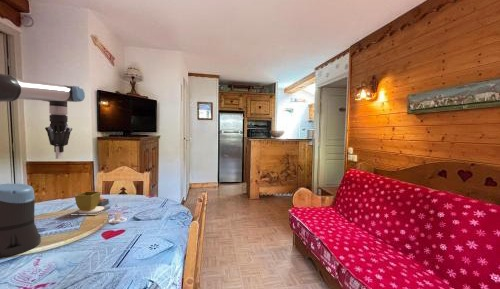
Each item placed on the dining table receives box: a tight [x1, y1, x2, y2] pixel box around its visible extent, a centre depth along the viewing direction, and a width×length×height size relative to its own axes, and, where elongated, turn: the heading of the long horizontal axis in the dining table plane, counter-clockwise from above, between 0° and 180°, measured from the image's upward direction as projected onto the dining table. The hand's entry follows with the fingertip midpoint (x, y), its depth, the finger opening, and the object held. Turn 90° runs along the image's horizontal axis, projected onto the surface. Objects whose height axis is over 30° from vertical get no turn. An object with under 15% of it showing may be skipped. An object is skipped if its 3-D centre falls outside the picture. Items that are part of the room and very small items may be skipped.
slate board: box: [70, 205, 111, 215], centre depth 129 cm, size 13×13×1 cm
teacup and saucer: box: [108, 211, 128, 224], centre depth 116 cm, size 9×8×4 cm
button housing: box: [97, 198, 109, 206], centre depth 140 cm, size 7×7×3 cm
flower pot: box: [74, 191, 101, 211], centre depth 128 cm, size 9×9×9 cm
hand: (59, 158), depth 125 cm, fingers closed
